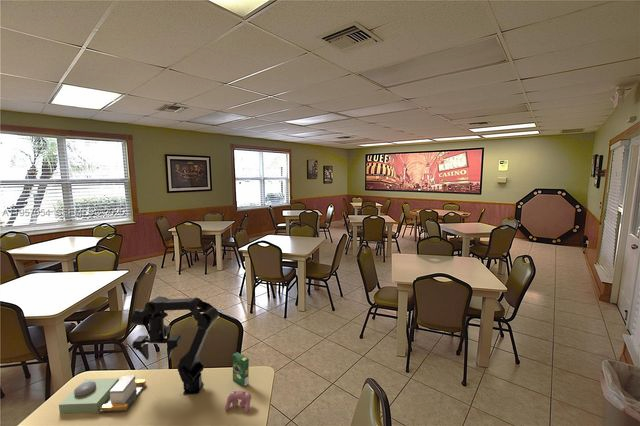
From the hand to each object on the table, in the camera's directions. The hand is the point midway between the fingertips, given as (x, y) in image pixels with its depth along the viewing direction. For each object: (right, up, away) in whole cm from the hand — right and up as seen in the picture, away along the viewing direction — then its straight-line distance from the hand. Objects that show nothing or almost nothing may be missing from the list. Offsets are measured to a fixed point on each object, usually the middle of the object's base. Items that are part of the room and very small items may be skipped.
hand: (158, 359), depth 128 cm
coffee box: (+36, -13, +3) cm, 38 cm away
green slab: (-24, -13, -8) cm, 28 cm away
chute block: (-11, -12, -7) cm, 17 cm away
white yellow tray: (-11, -13, -7) cm, 18 cm away
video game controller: (+39, -15, -10) cm, 43 cm away
